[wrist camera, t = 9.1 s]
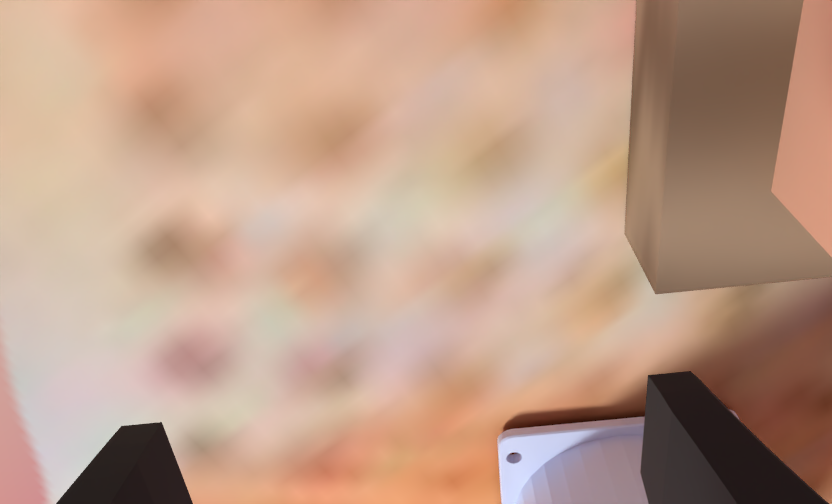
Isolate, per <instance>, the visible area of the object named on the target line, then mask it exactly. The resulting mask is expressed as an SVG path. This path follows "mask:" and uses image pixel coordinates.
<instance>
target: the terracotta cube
mask: <svg viewBox="0 0 832 504" xmlns="http://www.w3.org/2000/svg"><path fill="white" fill-rule="evenodd" d="M771 192H772V193H773V194H774V195H775V196H776V197H777V198H778V199H779V201H780V202H781V203H782V204H783V205H784V206H785V207H786V208H787V209H788V210H789V211H790V213H791V214H792V215H793V216H794V217H795V218H796V219H797V220H798V221H799V222H800V223H801V225H802V226H803V227H804V228H805V229H806V230H807V231H808V232H809V233H810V234H811V235H812V236H813V238H814V239H815V240H816V241H817V242H818V243H819V244H820V245H821V246H822V247H823V248H824V250H825V251H826V252H827V253H828V254H829V255H830V256H831V257H832V0H804V1H803V7H802V13H801V19H800V24H799V30H798V36H797V42H796V48H795V54H794V60H793V66H792V71H791V77H790V83H789V89H788V95H787V101H786V107H785V113H784V118H783V124H782V130H781V136H780V142H779V148H778V154H777V160H776V165H775V171H774V177H773V183H772V189H771Z"/></svg>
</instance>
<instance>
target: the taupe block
mask: <svg viewBox="0 0 832 504" xmlns="http://www.w3.org/2000/svg"><path fill="white" fill-rule="evenodd" d="M803 1H804V0H636V20H635V40H634V60H633V79H632V99H631V119H630V138H629V158H628V178H627V197H626V217H625V235H626V237H627V239H628V241H629V243H630V245H631V247H632V249H633V251H634V253H635V255H636V257H637V259H638V261H639V263H640V265H641V267H642V269H643V271H644V272H645V274H646V276H647V278H648V280H649V282H650V284H651V286H652V288H653V290H654V292H655V294H663V293H673V292H683V291H693V290H703V289H714V288H724V287H734V286H744V285H754V284H765V283H775V282H785V281H795V280H805V279H816V278H826V277H832V257H831V256H830V255H829V254H828V253H827V252H826V251H825V250H824V248H823V247H822V246H821V245H820V244H819V243H818V242H817V241H816V240H815V239H814V238H813V236H812V235H811V234H810V233H809V232H808V231H807V230H806V229H805V228H804V227H803V226H802V225H801V223H800V222H799V221H798V220H797V219H796V218H795V217H794V216H793V215H792V214H791V213H790V211H789V210H788V209H787V208H786V207H785V206H784V205H783V204H782V203H781V202H780V201H779V199H778V198H777V197H776V196H775V195H774V194H773V193H772V192H771V189H772V183H773V177H774V171H775V165H776V160H777V154H778V148H779V142H780V136H781V130H782V124H783V118H784V113H785V107H786V101H787V95H788V89H789V83H790V77H791V71H792V66H793V60H794V54H795V48H796V42H797V36H798V30H799V24H800V19H801V13H802V7H803Z"/></svg>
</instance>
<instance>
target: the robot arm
mask: <svg viewBox="0 0 832 504" xmlns="http://www.w3.org/2000/svg"><path fill="white" fill-rule="evenodd" d="M497 444H498V460H499V476H500V492H501V504H829V503H828V502H826V501H825V500H824V499H823V498H822V497H821V496H820V495H818V494H817V493H816V492H815V491H814V490H813V489H812V488H811V487H809V486H808V485H807V484H806V483H805V482H804V481H803V480H802V479H801V478H800V477H799V476H797V475H796V474H795V473H794V472H793V471H792V470H791V469H790V468H789V467H788V466H787V465H786V464H784V463H783V462H782V461H781V460H780V459H779V458H778V457H777V456H776V455H775V454H774V453H773V452H772V451H771V450H769V449H768V448H767V447H766V446H765V445H764V444H763V443H762V442H761V441H760V440H759V439H758V438H757V437H756V436H755V435H754V434H753V433H752V432H751V431H750V430H749V429H748V428H747V427H746V426H745V425H744V424H743V423H742V422H741V421H740V419H739V417H738V416H737V414H736V413H735V412H734V411H732V410H730V409H728V408H727V407H726V406H725V405H724V404H723V403H722V402H721V401H720V400H719V399H718V398H717V397H716V396H715V395H714V394H713V393H712V392H711V391H710V390H709V389H708V388H707V387H706V386H705V385H704V384H703V383H702V382H701V380H700V379H699V378H698V377H697V376H695V375H694V374H693V373H692V372H691V371H688V372H677V373H667V374H657V375H648V383H647V396H646V408H645V416H644V417H633V418H622V419H612V420H601V421H590V422H579V423H569V424H558V425H547V426H537V427H526V428H515V429H509V430H506V431H504V432H502V433H501V434H500V435H499V436H498V440H497ZM513 452H516V453H517V454H513V455H511V454H510V453H513ZM56 504H193V503H192V500H191V498H190V495H189V492H188V490H187V487H186V485H185V482H184V479H183V477H182V474H181V471H180V469H179V466H178V464H177V461H176V458H175V456H174V453H173V451H172V448H171V445H170V443H169V440H168V438H167V435H166V432H165V430H164V427H163V425H162V422H160V423H150V424H139V425H129V426H121V427H120V429H119V430H118V431H117V432H116V433H115V434H114V435H113V437H112V438H111V439H110V440H109V441H108V442H107V444H106V445H105V446H104V447H103V448H102V450H101V451H100V452H99V453H98V454H97V455H96V457H95V458H94V459H93V460H92V461H91V463H90V464H89V465H88V466H87V467H86V469H85V470H84V471H83V472H82V473H81V475H80V476H79V477H78V478H77V479H76V481H75V482H74V483H73V484H72V485H71V487H70V488H69V489H68V490H67V491H66V492H65V494H64V495H63V496H62V497H61V498H60V500H59V501H58V502H57V503H56Z"/></svg>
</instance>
